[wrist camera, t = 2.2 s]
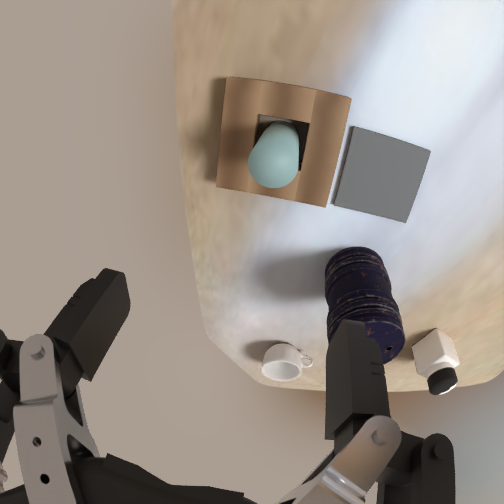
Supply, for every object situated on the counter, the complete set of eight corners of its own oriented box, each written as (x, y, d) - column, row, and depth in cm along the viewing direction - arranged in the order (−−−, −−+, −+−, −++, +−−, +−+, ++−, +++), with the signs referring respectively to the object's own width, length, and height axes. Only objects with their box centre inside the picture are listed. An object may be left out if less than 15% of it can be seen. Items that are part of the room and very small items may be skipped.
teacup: (267, 360, 60) (264, 381, 56) (261, 338, 56) (257, 360, 52) (314, 359, 58) (313, 380, 53) (312, 337, 54) (311, 359, 49)
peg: (301, 124, 33) (302, 145, 23) (295, 157, 35) (293, 192, 26) (266, 118, 33) (251, 136, 23) (261, 150, 36) (244, 183, 26)
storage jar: (319, 293, 47) (321, 369, 35) (328, 243, 42) (335, 318, 30) (376, 297, 46) (391, 370, 34) (391, 248, 40) (418, 321, 28)
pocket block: (347, 96, 30) (351, 98, 27) (324, 198, 38) (325, 207, 36) (232, 76, 31) (226, 76, 28) (221, 178, 39) (215, 187, 36)
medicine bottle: (410, 346, 52) (420, 394, 42) (436, 327, 48) (451, 375, 38) (427, 356, 53) (438, 401, 43) (451, 338, 49) (466, 383, 40)
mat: (429, 150, 31) (430, 151, 31) (404, 221, 38) (405, 222, 37) (353, 126, 32) (354, 126, 31) (333, 203, 38) (334, 205, 38)
